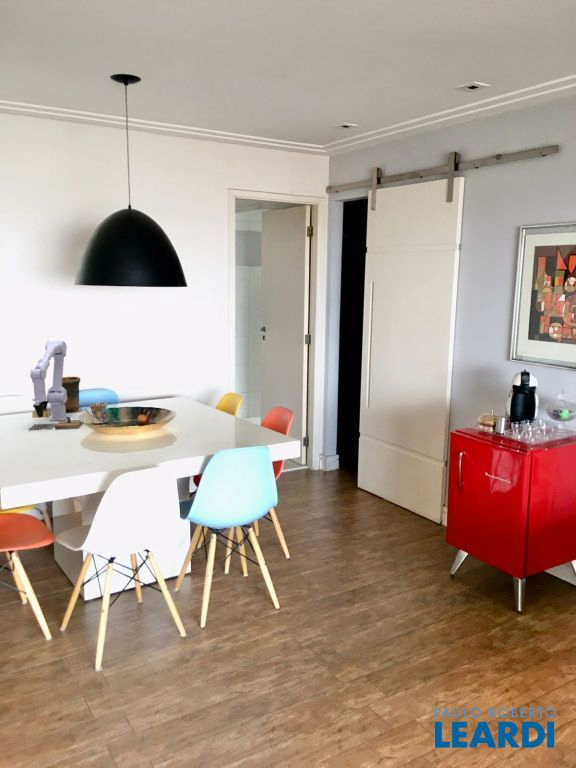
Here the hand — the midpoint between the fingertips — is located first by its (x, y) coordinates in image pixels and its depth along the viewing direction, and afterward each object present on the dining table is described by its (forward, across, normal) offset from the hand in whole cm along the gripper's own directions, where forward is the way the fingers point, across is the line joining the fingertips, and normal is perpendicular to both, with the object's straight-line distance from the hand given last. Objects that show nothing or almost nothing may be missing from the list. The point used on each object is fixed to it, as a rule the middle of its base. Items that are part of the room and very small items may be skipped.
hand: (41, 415), depth 357 cm
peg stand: (+6, +1, +14) cm, 15 cm away
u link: (0, 0, 0) cm, 0 cm away
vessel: (+6, -39, +6) cm, 40 cm away
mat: (+6, 0, 0) cm, 6 cm away
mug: (+6, -4, +28) cm, 29 cm away
